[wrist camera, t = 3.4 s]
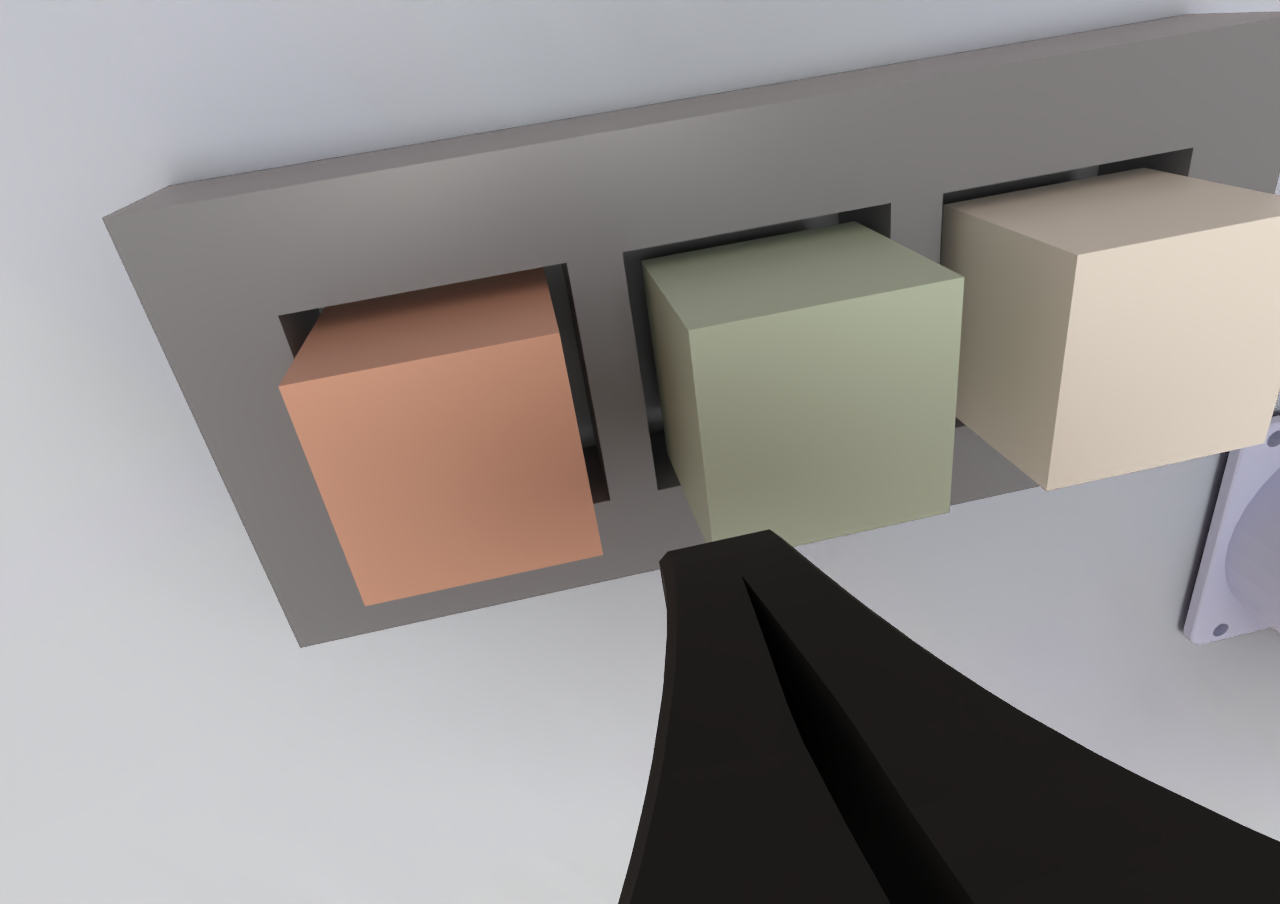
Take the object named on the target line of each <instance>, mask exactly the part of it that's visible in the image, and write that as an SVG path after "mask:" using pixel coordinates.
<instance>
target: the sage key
mask: <svg viewBox="0 0 1280 904" xmlns="http://www.w3.org/2000/svg"><path fill="white" fill-rule="evenodd" d="M641 266H642V273H643V280H644V288H645V295H646V302H647V309H648V316H649V324H650V331H651V338H652V345H653V353H654V360H655V367H656V374H657V382H658V389H659V396H660V403H661V410H662V418H663V425H664V432H665V439H666V447H667V454H668V456H669V459H670V461H671V463H672V466H673V468H674V470H675V473H676V475H677V477H678V480H679V482H680V484H681V487H682V489H683V491H684V493H685V496H686V498H687V500H688V503H689V505H690V507H691V510H692V512H693V514H694V517H695V519H696V521H697V524H698V526H699V528H700V531H701V533H702V535H703V538H704V540H705V542H706V543H708V542H713V541H718V540H722V539H727V538H731V537H736V536H740V535H745V534H750V533H754V532H759V531H763V530H768V529H770V530H772V531H773V532H774V533H776V534H777V535H779V536H780V537H781V538H783V539H784V540H785V541H786V542H787V543H789V544H790V545H791V546H792V547H794V546H799V545H803V544H808V543H813V542H817V541H822V540H826V539H831V538H835V537H840V536H844V535H849V534H854V533H858V532H863V531H867V530H872V529H876V528H881V527H885V526H890V525H895V524H899V523H904V522H908V521H913V520H917V519H922V518H926V517H931V516H935V515H940V514H945V513H949V512H950V497H951V481H952V465H953V450H954V434H955V418H956V403H957V387H958V371H959V356H960V340H961V324H962V308H963V293H964V277H963V276H962V275H960V274H958V273H956V272H954V271H952V270H950V269H948V268H946V267H944V266H942V265H940V264H938V263H936V262H934V261H932V260H930V259H928V258H926V257H924V256H922V255H920V254H918V253H916V252H914V251H912V250H911V249H909V248H907V247H905V246H903V245H901V244H899V243H897V242H895V241H893V240H891V239H889V238H887V237H885V236H883V235H881V234H879V233H877V232H875V231H873V230H871V229H869V228H867V227H865V226H863V225H861V224H860V223H858V222H856V221H852V222H847V223H841V224H836V225H830V226H825V227H820V228H814V229H809V230H803V231H798V232H793V233H787V234H782V235H776V236H771V237H766V238H760V239H755V240H749V241H744V242H738V243H733V244H728V245H722V246H717V247H711V248H706V249H701V250H695V251H690V252H684V253H679V254H674V255H668V256H663V257H657V258H652V259H647V260H641Z"/></svg>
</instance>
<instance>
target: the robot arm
mask: <svg viewBox="0 0 1280 904" xmlns="http://www.w3.org/2000/svg"><path fill="white" fill-rule="evenodd" d="M659 565H660V571H661V577H662V583H663V589H664V595H665V601H666V607H667V642H666V656H665V671H664V684H663V693H662V701H661V708H660V714H659V721H658V727H657V734H656V740H655V747H654V754H653V760H652V765H651V770H650V775H649V780H648V786H647V791H646V795H645V800H644V805H643V809H642V814H641V818H640V822H639V826H638V831H637V835H636V839H635V843H634V847H633V852H632V855H631V859H630V863H629V867H628V870H627V874H626V878H625V881H624V885H623V888H622V892H621V895H620V899H619V903H618V904H1280V842H1279V841H1277V840H1275V839H1272V838H1270V837H1268V836H1266V835H1263V834H1261V833H1259V832H1256V831H1254V830H1252V829H1250V828H1247V827H1245V826H1243V825H1241V824H1239V823H1237V822H1235V821H1233V820H1231V819H1228V818H1226V817H1224V816H1222V815H1220V814H1218V813H1216V812H1214V811H1212V810H1210V809H1208V808H1205V807H1203V806H1201V805H1199V804H1197V803H1195V802H1193V801H1191V800H1189V799H1187V798H1185V797H1182V796H1180V795H1178V794H1176V793H1174V792H1172V791H1170V790H1168V789H1166V788H1164V787H1162V786H1159V785H1157V784H1155V783H1153V782H1151V781H1149V780H1147V779H1145V778H1143V777H1141V776H1139V775H1137V774H1135V773H1133V772H1131V771H1129V770H1127V769H1125V768H1123V767H1121V766H1119V765H1118V764H1116V763H1114V762H1112V761H1110V760H1108V759H1106V758H1104V757H1102V756H1100V755H1098V754H1096V753H1094V752H1093V751H1091V750H1089V749H1087V748H1085V747H1084V746H1082V745H1080V744H1078V743H1077V742H1075V741H1073V740H1071V739H1069V738H1068V737H1066V736H1064V735H1062V734H1060V733H1059V732H1057V731H1055V730H1053V729H1052V728H1050V727H1048V726H1046V725H1044V724H1043V723H1041V722H1039V721H1037V720H1035V719H1034V718H1032V717H1030V716H1028V715H1027V714H1025V713H1023V712H1021V711H1020V710H1018V709H1016V708H1015V707H1013V706H1011V705H1010V704H1008V703H1007V702H1005V701H1003V700H1002V699H1000V698H999V697H997V696H995V695H994V694H992V693H991V692H989V691H987V690H986V689H984V688H983V687H981V686H980V685H978V684H977V683H975V682H973V681H972V680H970V679H969V678H967V677H966V676H964V675H963V674H961V673H960V672H958V671H957V670H955V669H954V668H952V667H951V666H949V665H948V664H946V663H945V662H943V661H942V660H940V659H939V658H937V657H936V656H934V655H933V654H931V653H930V652H929V651H927V650H926V649H924V648H923V647H921V646H920V645H918V644H917V643H916V642H914V641H913V640H911V639H910V638H909V637H907V636H906V635H905V634H903V633H902V632H900V631H899V630H898V629H896V628H895V627H894V626H892V625H891V624H890V623H888V622H887V621H886V620H884V619H883V618H881V617H880V616H879V615H877V614H876V613H875V612H873V611H872V610H871V609H869V608H868V607H867V606H865V605H864V604H863V603H861V602H860V601H859V600H857V599H856V598H855V597H854V596H852V595H851V594H850V593H848V592H847V591H846V590H845V589H843V588H842V587H841V586H840V585H838V584H837V583H836V582H835V581H833V580H832V579H831V578H830V577H828V576H827V575H826V574H825V573H823V572H822V571H821V570H820V569H819V568H817V567H816V566H815V565H814V564H812V563H811V562H810V561H809V560H808V559H806V558H805V557H804V556H803V555H802V554H800V553H799V552H798V551H797V550H796V549H794V548H793V547H792V546H791V545H790V544H789V543H787V542H786V541H785V540H784V539H783V538H781V537H780V536H779V535H777V534H776V533H774V532H773V531H772V530H770V529H768V530H763V531H759V532H754V533H750V534H745V535H740V536H736V537H731V538H727V539H722V540H718V541H713V542H708V543H704V544H699V545H695V546H690V547H685V548H681V549H676V550H672V551H667V553H666V554H665V555H664V556H663V557H662V559H661V560H660V561H659ZM1268 628H1273V629H1274V630H1276V631H1277V632H1278V633H1280V415H1279V416H1274V417H1272V419H1271V422H1270V426H1269V429H1268V433H1267V436H1266V440H1265V443H1263V444H1259V445H1254V446H1250V447H1245V448H1241V449H1236V450H1232V451H1230V452H1229V456H1228V460H1227V464H1226V467H1225V471H1224V475H1223V479H1222V483H1221V487H1220V491H1219V494H1218V498H1217V502H1216V506H1215V510H1214V514H1213V518H1212V522H1211V525H1210V529H1209V533H1208V537H1207V541H1206V545H1205V549H1204V552H1203V556H1202V560H1201V564H1200V568H1199V572H1198V576H1197V579H1196V583H1195V587H1194V591H1193V595H1192V599H1191V603H1190V606H1189V610H1188V614H1187V618H1186V622H1185V626H1184V635H1185V637H1186V638H1187V639H1188V640H1190V641H1191V642H1192V643H1193V644H1196V645H1199V644H1206V643H1210V642H1214V641H1218V640H1223V639H1227V638H1231V637H1235V636H1239V635H1243V634H1247V633H1252V632H1256V631H1260V630H1264V629H1268Z"/></svg>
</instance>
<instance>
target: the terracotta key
mask: <svg viewBox="0 0 1280 904" xmlns="http://www.w3.org/2000/svg"><path fill="white" fill-rule="evenodd" d="M278 387H279V390H280V392H281V395H282V397H283V400H284V402H285V405H286V407H287V410H288V413H289V415H290V418H291V420H292V423H293V425H294V428H295V430H296V433H297V435H298V438H299V440H300V443H301V445H302V448H303V451H304V453H305V456H306V458H307V461H308V463H309V466H310V468H311V471H312V473H313V476H314V478H315V481H316V483H317V486H318V488H319V491H320V494H321V496H322V499H323V501H324V504H325V506H326V509H327V511H328V514H329V516H330V519H331V521H332V524H333V526H334V529H335V532H336V534H337V537H338V539H339V542H340V544H341V547H342V549H343V552H344V554H345V557H346V559H347V562H348V564H349V567H350V569H351V572H352V575H353V577H354V580H355V582H356V585H357V587H358V590H359V592H360V595H361V597H362V600H363V602H364V605H365V606H369V605H374V604H378V603H383V602H388V601H392V600H397V599H402V598H406V597H411V596H415V595H420V594H425V593H429V592H434V591H439V590H443V589H448V588H453V587H457V586H462V585H466V584H471V583H476V582H480V581H485V580H490V579H494V578H499V577H503V576H508V575H513V574H517V573H522V572H527V571H531V570H536V569H541V568H545V567H550V566H554V565H559V564H564V563H568V562H573V561H578V560H582V559H587V558H591V557H596V556H601V555H603V551H602V546H601V541H600V536H599V531H598V525H597V520H596V515H595V510H594V505H593V500H592V495H591V490H590V485H589V480H588V475H587V470H586V465H585V460H584V455H583V450H582V445H581V440H580V435H579V429H578V424H577V419H576V414H575V409H574V404H573V399H572V394H571V389H570V384H569V379H568V374H567V369H566V364H565V359H564V354H563V349H562V344H561V339H560V333H559V329H558V325H557V321H556V317H555V313H554V309H553V305H552V301H551V297H550V293H549V288H548V284H547V280H546V276H545V272H544V268H543V267H540V268H534V269H529V270H523V271H518V272H513V273H507V274H502V275H496V276H491V277H485V278H480V279H474V280H469V281H464V282H458V283H453V284H447V285H442V286H436V287H431V288H425V289H420V290H415V291H409V292H404V293H398V294H393V295H387V296H382V297H376V298H371V299H366V300H360V301H355V302H349V303H344V304H338V305H333V306H327V307H325V308H324V309H323V311H322V313H321V314H320V316H319V318H318V320H317V321H316V323H315V325H314V326H313V328H312V330H311V332H310V333H309V335H308V337H307V338H306V340H305V342H304V343H303V345H302V347H301V349H300V350H299V352H298V354H297V355H296V357H295V359H294V360H293V362H292V364H291V366H290V367H289V369H288V371H287V372H286V374H285V376H284V377H283V379H282V381H281V383H280V384H279V386H278Z"/></svg>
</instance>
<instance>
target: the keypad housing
mask: <svg viewBox="0 0 1280 904" xmlns="http://www.w3.org/2000/svg"><path fill="white" fill-rule="evenodd" d="M1139 168H1148V169H1153V170H1158V171H1163V172H1168V173H1172V174H1177V175H1182V176H1187V177H1192V178H1197V179H1202V180H1207V181H1211V182H1216V183H1221V184H1226V185H1231V186H1236V187H1241V188H1246V189H1251V190H1255V191H1260V192H1265V193H1270V194H1274V193H1275V189H1276V185H1277V181H1278V177H1279V173H1280V12H1248V13H1211V14H1187V15H1181V16H1175V17H1169V18H1163V19H1157V20H1151V21H1145V22H1139V23H1133V24H1127V25H1121V26H1115V27H1109V28H1103V29H1097V30H1092V31H1086V32H1080V33H1074V34H1068V35H1062V36H1056V37H1050V38H1044V39H1038V40H1032V41H1026V42H1020V43H1014V44H1008V45H1002V46H996V47H990V48H985V49H979V50H973V51H967V52H961V53H955V54H949V55H943V56H937V57H931V58H925V59H919V60H913V61H907V62H901V63H895V64H889V65H883V66H878V67H872V68H866V69H860V70H854V71H848V72H842V73H836V74H830V75H824V76H818V77H812V78H806V79H800V80H794V81H788V82H782V83H776V84H771V85H765V86H759V87H753V88H747V89H741V90H735V91H729V92H723V93H717V94H711V95H705V96H699V97H693V98H687V99H681V100H675V101H669V102H664V103H658V104H652V105H646V106H640V107H634V108H628V109H622V110H616V111H610V112H604V113H598V114H592V115H586V116H580V117H574V118H568V119H562V120H556V121H551V122H545V123H539V124H533V125H527V126H521V127H515V128H509V129H503V130H497V131H491V132H485V133H479V134H473V135H467V136H461V137H455V138H449V139H444V140H438V141H432V142H426V143H420V144H414V145H408V146H402V147H396V148H390V149H384V150H378V151H372V152H366V153H360V154H354V155H348V156H342V157H337V158H331V159H325V160H319V161H313V162H307V163H301V164H295V165H289V166H283V167H277V168H271V169H265V170H259V171H253V172H247V173H241V174H235V175H230V176H224V177H218V178H212V179H206V180H200V181H194V182H188V183H182V184H176V185H170V186H167V187H165V188H163V189H161V190H159V191H157V192H155V193H153V194H151V195H149V196H147V197H144V198H142V199H140V200H138V201H136V202H134V203H132V204H130V205H128V206H126V207H124V208H122V209H120V210H117V211H115V212H113V213H111V214H109V215H107V216H105V217H103V218H102V219H103V221H104V224H105V226H106V228H107V230H108V232H109V234H110V237H111V239H112V241H113V243H114V245H115V247H116V250H117V252H118V254H119V256H120V258H121V260H122V263H123V265H124V267H125V269H126V271H127V273H128V276H129V278H130V280H131V282H132V284H133V286H134V289H135V291H136V293H137V295H138V297H139V299H140V302H141V304H142V306H143V308H144V310H145V312H146V315H147V317H148V319H149V321H150V323H151V325H152V328H153V330H154V332H155V334H156V336H157V338H158V341H159V343H160V345H161V347H162V349H163V351H164V354H165V356H166V358H167V360H168V362H169V364H170V367H171V369H172V371H173V373H174V375H175V377H176V380H177V382H178V384H179V386H180V388H181V390H182V393H183V395H184V397H185V399H186V401H187V403H188V406H189V408H190V410H191V412H192V414H193V416H194V419H195V421H196V423H197V425H198V427H199V429H200V432H201V434H202V436H203V438H204V440H205V442H206V445H207V447H208V449H209V451H210V453H211V455H212V458H213V460H214V462H215V464H216V466H217V468H218V471H219V473H220V475H221V477H222V479H223V481H224V484H225V486H226V488H227V490H228V492H229V494H230V497H231V499H232V501H233V503H234V505H235V507H236V510H237V512H238V514H239V516H240V518H241V520H242V523H243V525H244V527H245V529H246V531H247V533H248V536H249V538H250V540H251V542H252V544H253V546H254V549H255V551H256V553H257V555H258V557H259V559H260V562H261V564H262V566H263V568H264V570H265V572H266V575H267V577H268V579H269V581H270V583H271V585H272V588H273V590H274V592H275V594H276V596H277V598H278V601H279V603H280V605H281V607H282V609H283V611H284V614H285V616H286V618H287V620H288V622H289V624H290V627H291V629H292V631H293V633H294V635H295V637H296V640H297V642H298V644H299V646H300V648H302V647H306V646H311V645H315V644H320V643H324V642H329V641H334V640H338V639H343V638H347V637H352V636H356V635H361V634H366V633H370V632H375V631H379V630H384V629H388V628H393V627H398V626H402V625H407V624H411V623H416V622H420V621H425V620H430V619H434V618H439V617H443V616H448V615H452V614H457V613H462V612H466V611H471V610H475V609H480V608H484V607H489V606H494V605H498V604H503V603H507V602H512V601H516V600H521V599H526V598H530V597H535V596H539V595H544V594H548V593H553V592H558V591H562V590H567V589H571V588H576V587H580V586H585V585H590V584H594V583H599V582H603V581H608V580H612V579H617V578H622V577H626V576H631V575H635V574H640V573H644V572H649V571H654V570H658V569H660V565H659V561H660V560H661V559H662V557H663V556H664V555H665V554H666V553H667V551H672V550H676V549H681V548H685V547H690V546H695V545H699V544H704V543H706V542H705V540H704V538H703V535H702V533H701V531H700V528H699V526H698V524H697V521H696V519H695V517H694V514H693V512H692V510H691V507H690V505H689V503H688V500H687V498H686V496H685V493H684V491H683V489H682V487H681V484H680V482H679V480H678V477H677V475H676V473H675V470H674V468H673V466H672V463H671V461H670V459H669V456H668V454H667V447H666V439H665V432H664V425H663V418H662V410H661V403H660V396H659V389H658V382H657V374H656V367H655V360H654V353H653V345H652V338H651V331H650V324H649V316H648V309H647V302H646V295H645V288H644V280H643V273H642V266H641V260H647V259H652V258H657V257H663V256H668V255H674V254H679V253H684V252H690V251H695V250H701V249H706V248H711V247H717V246H722V245H728V244H733V243H738V242H744V241H749V240H755V239H760V238H766V237H771V236H776V235H782V234H787V233H793V232H798V231H803V230H809V229H814V228H820V227H825V226H830V225H836V224H841V223H847V222H852V221H856V222H858V223H860V224H861V225H863V226H865V227H867V228H869V229H871V230H873V231H875V232H877V233H879V234H881V235H883V236H885V237H887V238H889V239H891V240H893V241H895V242H897V243H899V244H901V245H903V246H905V247H907V248H909V249H911V250H912V251H914V252H916V253H918V254H920V255H922V256H924V257H926V258H928V259H930V260H932V261H934V262H936V263H938V264H940V263H941V242H942V221H943V205H944V204H949V203H955V202H960V201H966V200H971V199H976V198H982V197H987V196H993V195H998V194H1003V193H1009V192H1014V191H1020V190H1025V189H1031V188H1036V187H1041V186H1047V185H1052V184H1058V183H1063V182H1068V181H1074V180H1079V179H1085V178H1090V177H1095V176H1101V175H1106V174H1112V173H1117V172H1122V171H1128V170H1133V169H1139ZM540 267H543V268H544V272H545V276H546V280H547V284H548V288H549V293H550V297H551V301H552V305H553V309H554V313H555V317H556V321H557V325H558V329H559V333H560V339H561V344H562V349H563V354H564V359H565V364H566V369H567V374H568V379H569V384H570V389H571V394H572V399H573V404H574V409H575V414H576V419H577V424H578V429H579V435H580V440H581V445H582V450H583V455H584V460H585V465H586V470H587V475H588V480H589V485H590V490H591V495H592V500H593V505H594V510H595V515H596V520H597V525H598V531H599V536H600V541H601V546H602V551H603V555H601V556H596V557H591V558H587V559H582V560H578V561H573V562H568V563H564V564H559V565H554V566H550V567H545V568H541V569H536V570H531V571H527V572H522V573H517V574H513V575H508V576H503V577H499V578H494V579H490V580H485V581H480V582H476V583H471V584H466V585H462V586H457V587H453V588H448V589H443V590H439V591H434V592H429V593H425V594H420V595H415V596H411V597H406V598H402V599H397V600H392V601H388V602H383V603H378V604H374V605H369V606H365V605H364V602H363V600H362V597H361V595H360V592H359V590H358V587H357V585H356V582H355V580H354V577H353V575H352V572H351V569H350V567H349V564H348V562H347V559H346V557H345V554H344V552H343V549H342V547H341V544H340V542H339V539H338V537H337V534H336V532H335V529H334V526H333V524H332V521H331V519H330V516H329V514H328V511H327V509H326V506H325V504H324V501H323V499H322V496H321V494H320V491H319V488H318V486H317V483H316V481H315V478H314V476H313V473H312V471H311V468H310V466H309V463H308V461H307V458H306V456H305V453H304V451H303V448H302V445H301V443H300V440H299V438H298V435H297V433H296V430H295V428H294V425H293V423H292V420H291V418H290V415H289V413H288V410H287V407H286V405H285V402H284V400H283V397H282V395H281V392H280V390H279V387H278V386H279V384H280V383H281V381H282V379H283V377H284V376H285V374H286V372H287V371H288V369H289V367H290V366H291V364H292V362H293V360H294V359H295V357H296V355H297V354H298V352H299V350H300V349H301V347H302V345H303V343H304V342H305V340H306V338H307V337H308V335H309V333H310V332H311V330H312V328H313V326H314V325H315V323H316V321H317V320H318V318H319V316H320V314H321V313H322V311H323V309H324V308H325V307H327V306H333V305H338V304H344V303H349V302H355V301H360V300H366V299H371V298H376V297H382V296H387V295H393V294H398V293H404V292H409V291H415V290H420V289H425V288H431V287H436V286H442V285H447V284H453V283H458V282H464V281H469V280H474V279H480V278H485V277H491V276H496V275H502V274H507V273H513V272H518V271H523V270H529V269H534V268H540ZM1038 486H1039V485H1038V484H1037V483H1036V482H1035V481H1033V480H1032V479H1031V478H1030V477H1028V476H1027V475H1026V474H1025V473H1024V472H1022V471H1021V470H1020V469H1019V468H1017V467H1016V466H1015V465H1014V464H1013V463H1011V462H1010V461H1009V460H1008V459H1006V458H1005V457H1004V456H1003V455H1002V454H1000V453H999V452H998V451H997V450H995V449H994V448H993V447H992V446H991V445H989V444H988V443H987V442H986V441H984V440H983V439H982V438H981V437H980V436H978V435H977V434H976V433H975V432H973V431H972V430H971V429H970V428H969V427H967V426H966V425H965V424H964V423H962V422H961V421H960V420H959V419H958V418H955V434H954V450H953V465H952V481H951V497H950V506H951V505H955V504H960V503H964V502H969V501H974V500H978V499H983V498H987V497H992V496H996V495H1001V494H1006V493H1010V492H1015V491H1019V490H1024V489H1028V488H1033V487H1038Z"/></svg>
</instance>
